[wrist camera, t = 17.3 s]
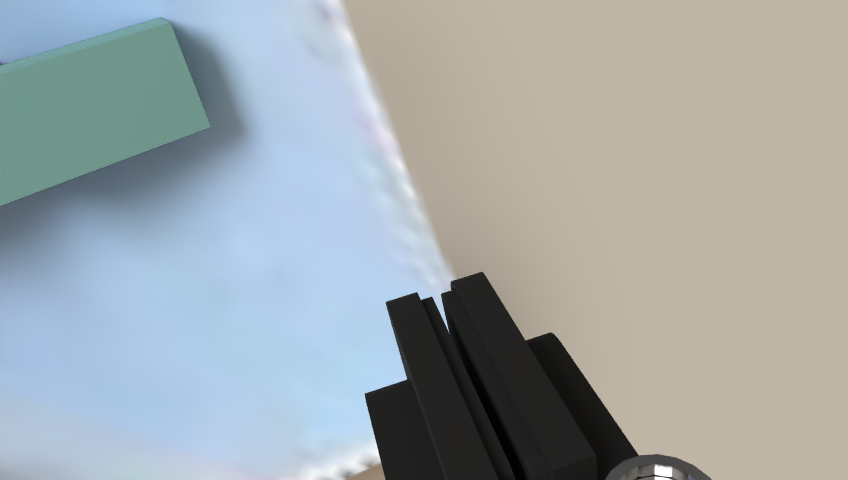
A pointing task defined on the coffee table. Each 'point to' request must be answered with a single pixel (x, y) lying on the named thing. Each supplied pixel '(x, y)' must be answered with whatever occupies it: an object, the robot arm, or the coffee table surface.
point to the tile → (93, 106)
